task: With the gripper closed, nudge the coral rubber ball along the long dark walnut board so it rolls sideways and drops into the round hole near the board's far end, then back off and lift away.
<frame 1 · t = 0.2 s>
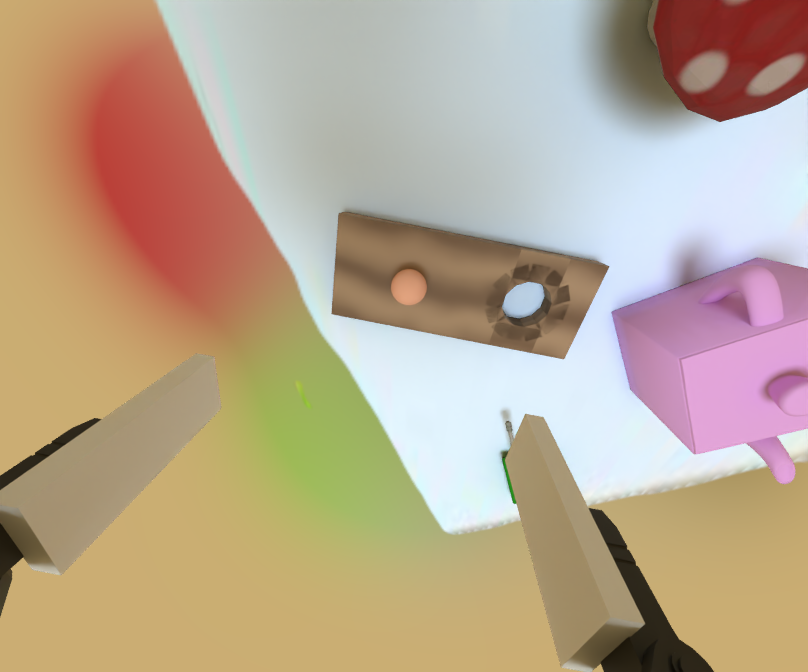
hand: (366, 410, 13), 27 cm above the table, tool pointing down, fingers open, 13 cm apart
coral ball: (408, 287, 34), point 4 cm above the table, touching walnut board
walnut board: (458, 285, 38), on the table
decorative mushroom: (680, 29, 26), on the table
teapot: (685, 337, 39), on the table
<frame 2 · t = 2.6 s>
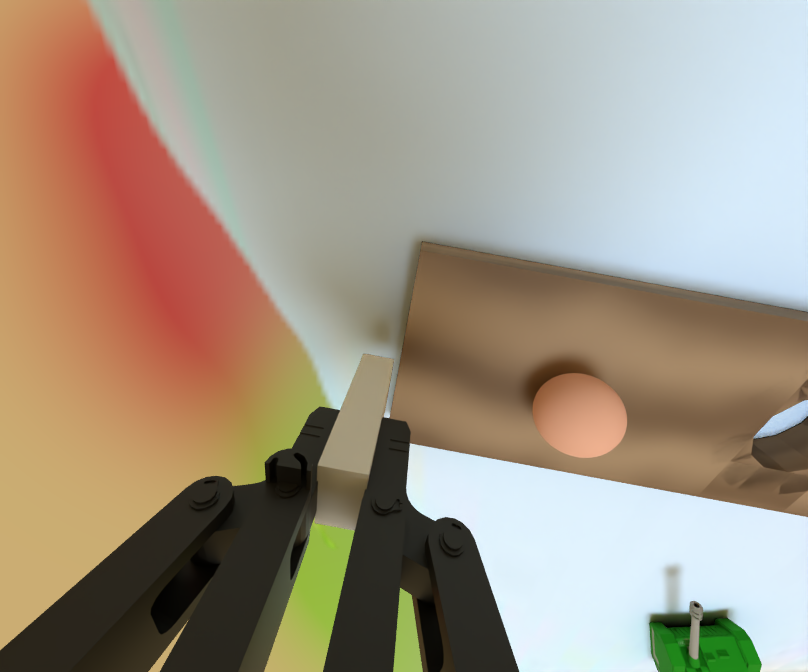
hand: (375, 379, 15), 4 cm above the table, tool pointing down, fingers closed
coral ball: (576, 414, 15), point 4 cm above the table, touching walnut board
walnut board: (640, 382, 19), on the table
toy tank: (684, 611, 30), on the table
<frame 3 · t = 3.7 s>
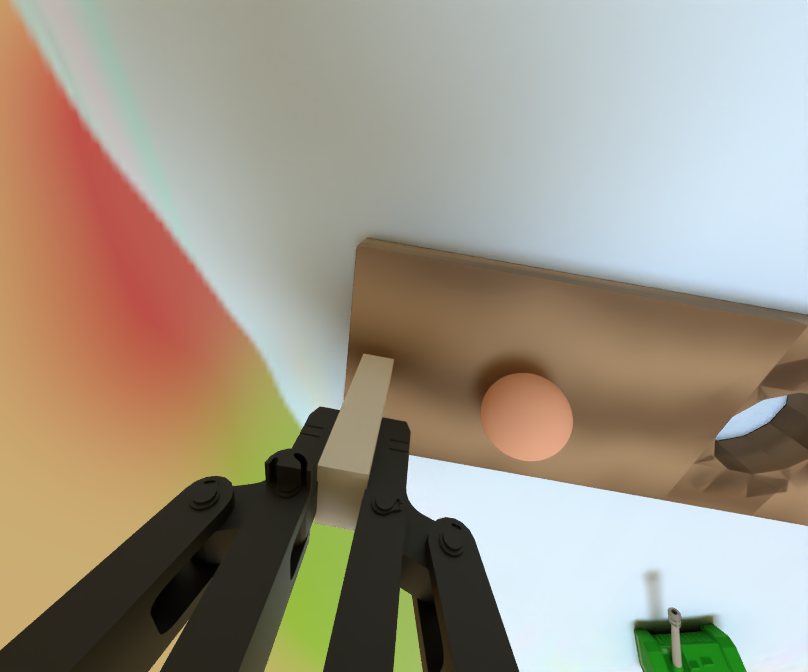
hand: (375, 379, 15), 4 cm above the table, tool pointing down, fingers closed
coral ball: (524, 415, 14), point 4 cm above the table, touching walnut board
walnut board: (601, 382, 18), on the table
toy tank: (669, 617, 29), on the table
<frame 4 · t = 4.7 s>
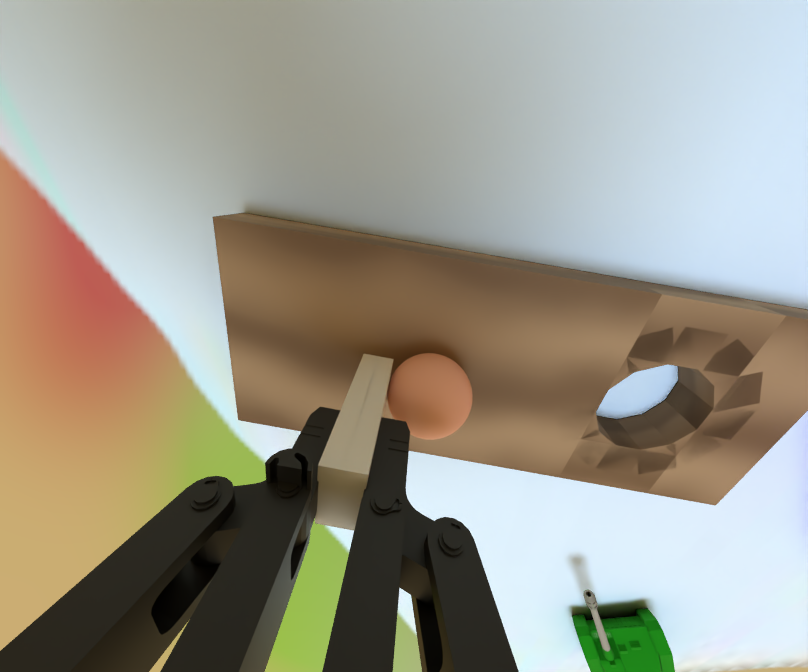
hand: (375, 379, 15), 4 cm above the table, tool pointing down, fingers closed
coral ball: (429, 395, 14), point 4 cm above the table, tilted 54°, touching gripper, walnut board
walnut board: (495, 359, 18), on the table
toy tank: (605, 602, 29), on the table
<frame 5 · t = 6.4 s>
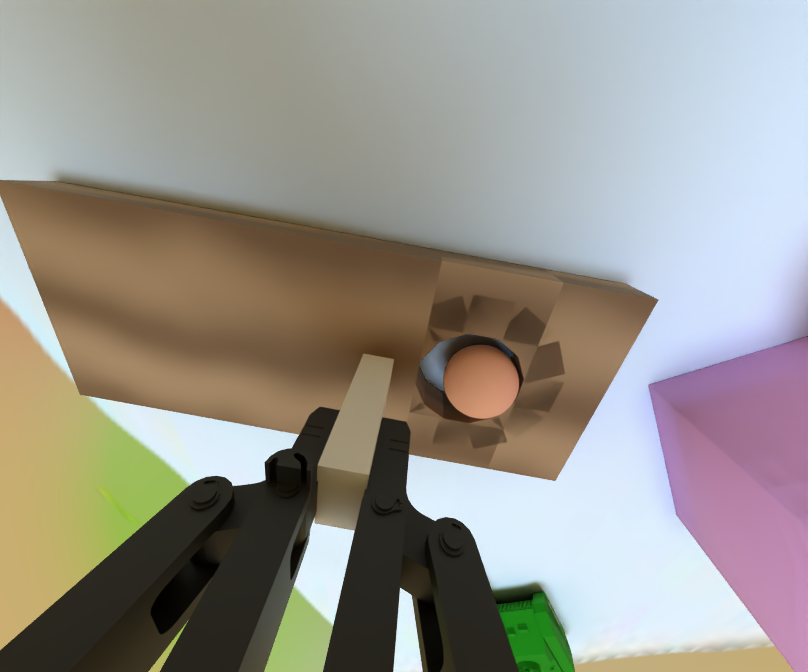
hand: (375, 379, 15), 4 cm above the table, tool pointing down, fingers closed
coral ball: (480, 380, 17), point 2 cm above the table, tilted 49°
walnut board: (334, 334, 18), on the table
toy tank: (504, 587, 30), on the table
teapot: (797, 433, 19), on the table
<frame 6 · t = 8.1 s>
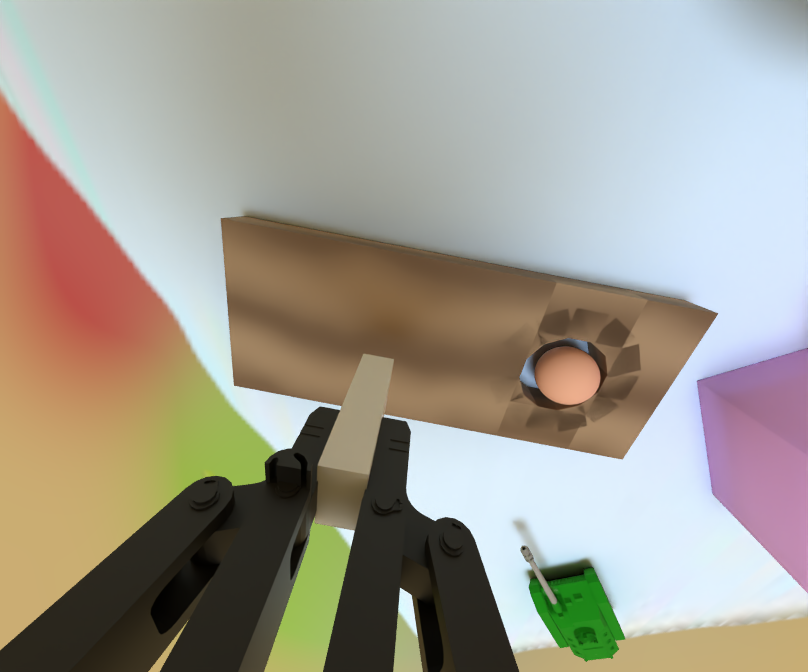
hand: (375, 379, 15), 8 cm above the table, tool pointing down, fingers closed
coral ball: (565, 375, 21), point 2 cm above the table, tilted 42°
walnut board: (444, 338, 23), on the table
toy tank: (557, 565, 33), on the table
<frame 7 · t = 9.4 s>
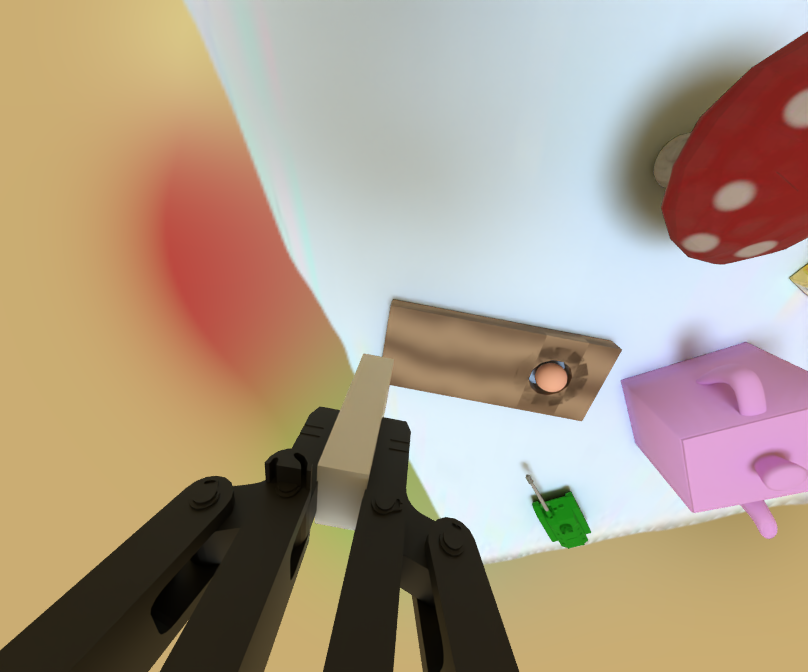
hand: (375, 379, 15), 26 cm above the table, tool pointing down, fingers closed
coral ball: (550, 377, 42), point 2 cm above the table, tilted 36°
walnut board: (489, 358, 43), on the table
toy tank: (549, 491, 54), on the table
decorative mushroom: (680, 171, 32), on the table
teapot: (684, 402, 44), on the table
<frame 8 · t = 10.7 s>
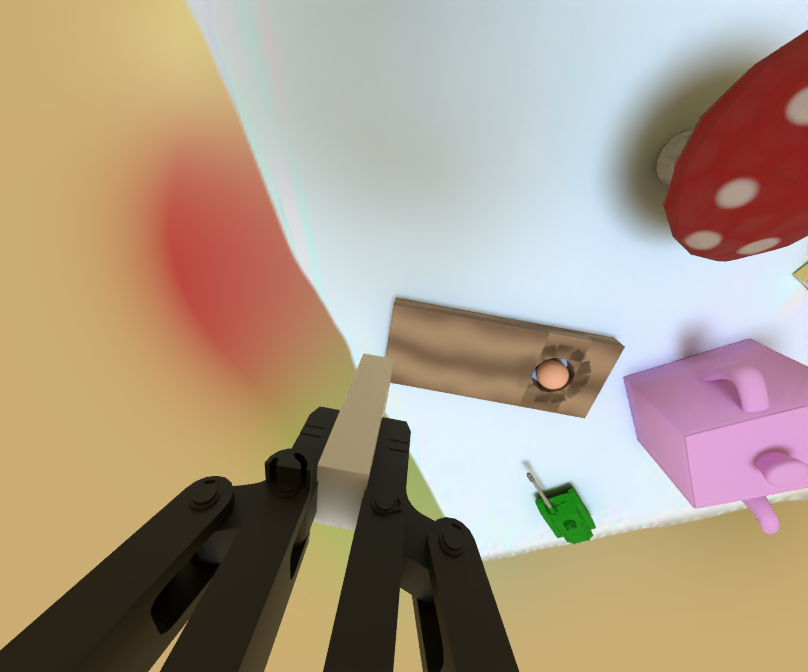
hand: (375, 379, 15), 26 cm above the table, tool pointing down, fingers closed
coral ball: (552, 374, 42), point 2 cm above the table, tilted 31°
walnut board: (492, 355, 43), on the table
toy tank: (552, 488, 55), on the table
decorative mushroom: (682, 168, 32), on the table
teapot: (687, 398, 44), on the table
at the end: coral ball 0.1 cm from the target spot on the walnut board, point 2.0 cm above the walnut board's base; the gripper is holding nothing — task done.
